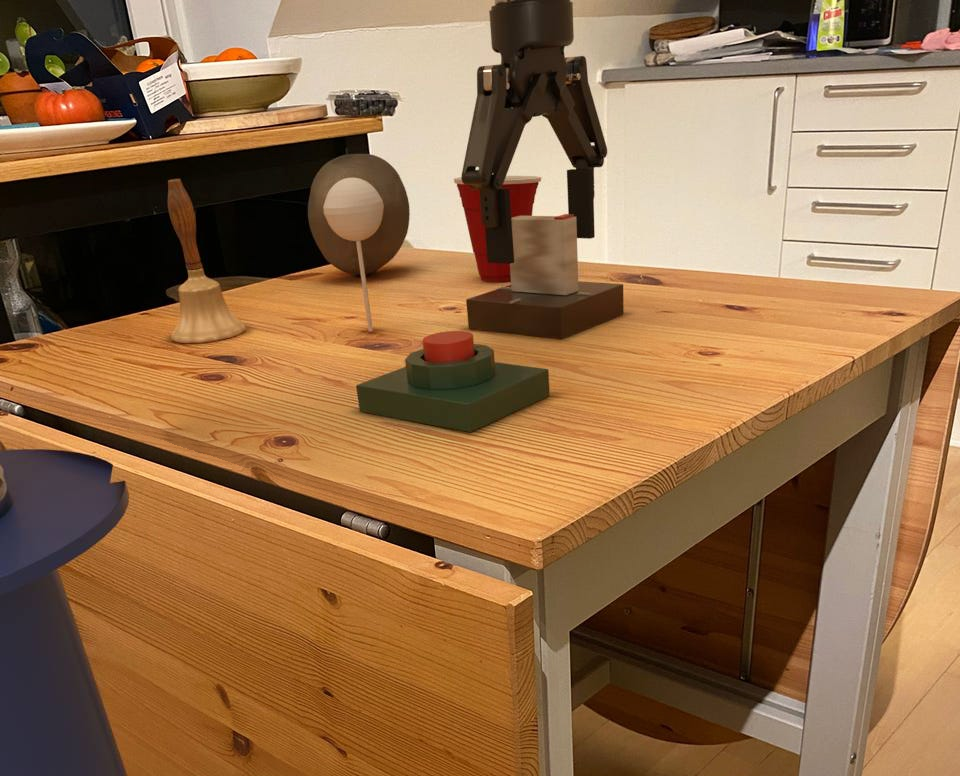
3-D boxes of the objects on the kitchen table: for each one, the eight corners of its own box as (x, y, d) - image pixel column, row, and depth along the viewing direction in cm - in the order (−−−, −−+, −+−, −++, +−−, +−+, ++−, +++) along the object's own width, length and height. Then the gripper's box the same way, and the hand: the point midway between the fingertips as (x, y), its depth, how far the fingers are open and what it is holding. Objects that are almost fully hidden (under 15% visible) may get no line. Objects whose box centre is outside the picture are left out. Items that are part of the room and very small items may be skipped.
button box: (359, 411, 80) (351, 362, 78) (440, 379, 86) (435, 333, 84) (470, 432, 73) (465, 379, 71) (550, 395, 79) (547, 346, 77)
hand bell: (248, 336, 108) (216, 177, 100) (171, 347, 106) (133, 187, 98) (243, 321, 115) (213, 172, 107) (171, 332, 113) (135, 180, 105)
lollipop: (363, 340, 102) (341, 182, 94) (331, 334, 105) (307, 181, 98) (410, 327, 105) (391, 173, 97) (377, 321, 109) (357, 173, 101)
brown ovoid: (295, 283, 134) (274, 162, 127) (365, 263, 144) (350, 149, 136) (370, 288, 126) (353, 159, 119) (439, 267, 136) (427, 146, 128)
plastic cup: (563, 274, 123) (559, 169, 117) (491, 289, 119) (483, 181, 113) (515, 265, 132) (509, 167, 126) (446, 279, 127) (437, 178, 121)
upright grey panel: (511, 291, 102) (506, 216, 98) (524, 286, 103) (519, 213, 100) (566, 295, 98) (563, 217, 94) (578, 290, 99) (576, 213, 96)
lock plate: (467, 329, 102) (464, 297, 101) (532, 305, 109) (531, 276, 108) (561, 339, 95) (560, 305, 93) (624, 313, 102) (624, 282, 101)
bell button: (414, 363, 78) (412, 340, 77) (447, 350, 80) (445, 329, 80) (452, 368, 76) (449, 345, 75) (485, 355, 78) (483, 333, 77)
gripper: (472, -4, 78) (493, 276, 89) (640, -9, 94) (641, 229, 104) (404, 7, 82) (432, 272, 93) (576, 0, 98) (583, 227, 109)
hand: (543, 250), depth 99 cm, fingers open, 13 cm apart
